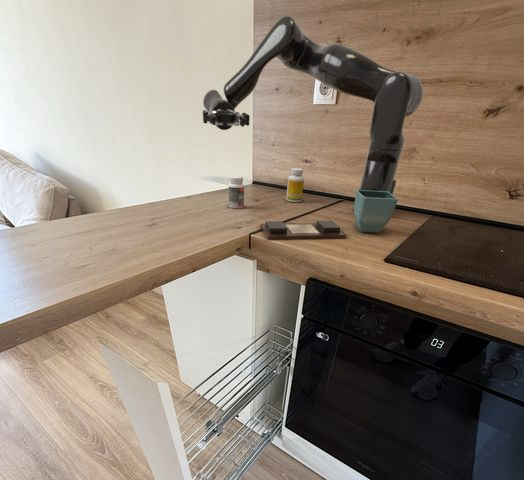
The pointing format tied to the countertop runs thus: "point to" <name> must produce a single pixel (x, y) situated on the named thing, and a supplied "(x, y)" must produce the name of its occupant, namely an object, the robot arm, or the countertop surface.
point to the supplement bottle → (295, 185)
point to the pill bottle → (236, 192)
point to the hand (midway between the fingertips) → (228, 121)
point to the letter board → (301, 230)
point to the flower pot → (373, 209)
